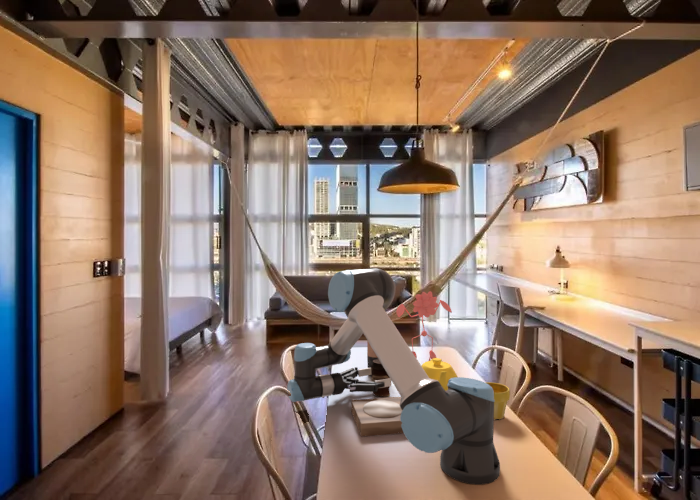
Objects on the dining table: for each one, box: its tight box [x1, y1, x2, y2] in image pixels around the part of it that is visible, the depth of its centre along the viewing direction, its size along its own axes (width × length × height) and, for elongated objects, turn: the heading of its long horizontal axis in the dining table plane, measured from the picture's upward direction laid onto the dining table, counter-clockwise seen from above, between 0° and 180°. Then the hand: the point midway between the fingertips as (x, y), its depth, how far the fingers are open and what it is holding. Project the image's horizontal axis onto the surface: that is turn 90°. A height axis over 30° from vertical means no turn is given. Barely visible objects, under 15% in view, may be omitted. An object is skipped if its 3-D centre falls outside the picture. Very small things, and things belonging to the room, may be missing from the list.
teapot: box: [421, 357, 458, 391], centre depth 158 cm, size 25×18×14 cm
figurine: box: [395, 291, 452, 361], centre depth 191 cm, size 15×26×35 cm, turn 100°
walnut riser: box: [350, 396, 404, 438], centre depth 136 cm, size 18×18×4 cm
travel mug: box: [366, 339, 378, 378], centre depth 180 cm, size 8×8×20 cm
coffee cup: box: [371, 359, 391, 398], centre depth 158 cm, size 9×8×13 cm
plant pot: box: [484, 381, 511, 420], centre depth 140 cm, size 10×10×10 cm
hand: (381, 376), depth 159 cm, fingers open, 13 cm apart
